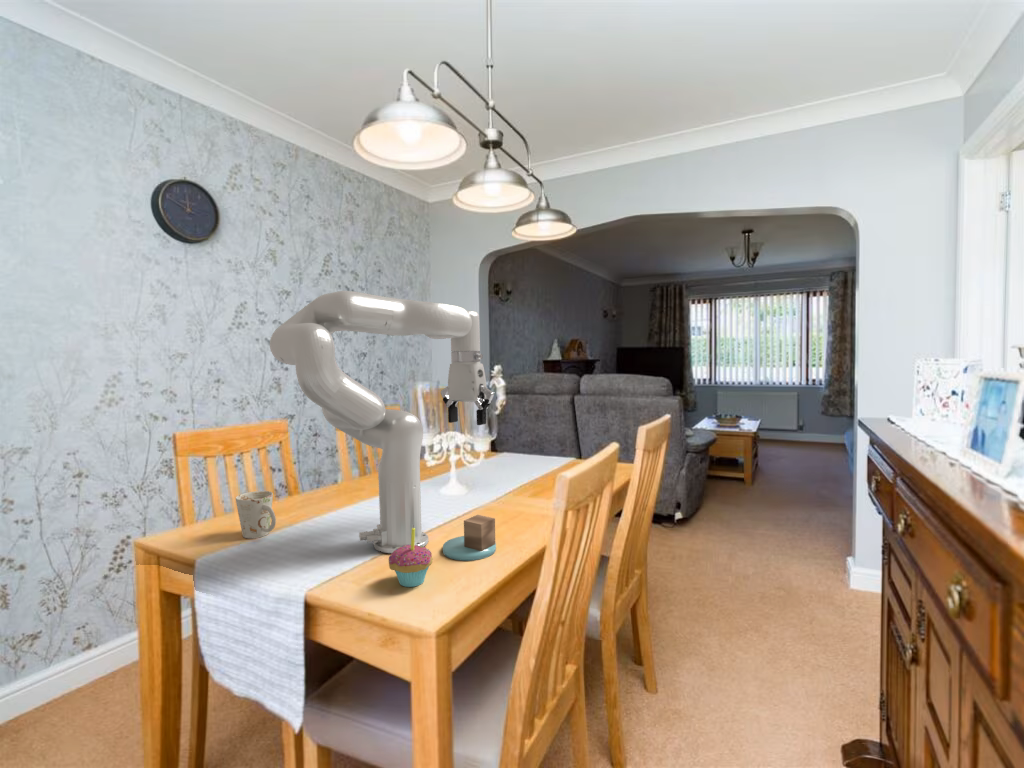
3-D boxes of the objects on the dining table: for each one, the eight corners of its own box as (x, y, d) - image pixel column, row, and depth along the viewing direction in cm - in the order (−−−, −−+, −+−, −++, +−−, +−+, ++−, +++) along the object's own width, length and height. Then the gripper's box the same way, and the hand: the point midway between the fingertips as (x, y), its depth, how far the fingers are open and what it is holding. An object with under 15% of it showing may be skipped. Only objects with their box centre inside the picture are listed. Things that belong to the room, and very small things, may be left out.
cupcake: (440, 583, 100) (439, 523, 99) (399, 596, 95) (397, 532, 94) (421, 569, 107) (419, 512, 106) (382, 580, 102) (380, 520, 101)
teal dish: (453, 564, 109) (452, 559, 108) (436, 545, 119) (436, 540, 119) (504, 554, 114) (504, 549, 114) (484, 537, 125) (483, 532, 124)
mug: (261, 526, 135) (259, 489, 134) (292, 534, 128) (290, 495, 128) (230, 536, 128) (228, 497, 127) (261, 545, 121) (259, 504, 121)
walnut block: (481, 551, 113) (481, 524, 112) (464, 546, 115) (463, 520, 115) (495, 544, 117) (494, 518, 116) (478, 539, 119) (477, 514, 119)
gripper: (500, 357, 132) (501, 423, 133) (450, 358, 142) (451, 419, 143) (482, 358, 126) (484, 427, 127) (431, 358, 136) (433, 422, 137)
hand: (467, 423), depth 135 cm, fingers open, 9 cm apart
